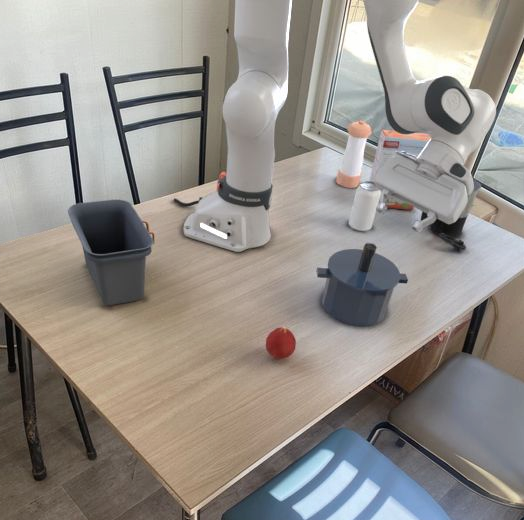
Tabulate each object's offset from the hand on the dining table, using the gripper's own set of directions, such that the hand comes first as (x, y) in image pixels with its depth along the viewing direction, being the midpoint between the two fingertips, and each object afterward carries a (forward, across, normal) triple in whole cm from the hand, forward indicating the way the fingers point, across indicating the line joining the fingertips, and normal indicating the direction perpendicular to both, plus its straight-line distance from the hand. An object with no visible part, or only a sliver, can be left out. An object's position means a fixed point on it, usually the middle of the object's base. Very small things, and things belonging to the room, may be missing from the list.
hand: (396, 220), depth 112 cm
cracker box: (-16, -26, +43) cm, 52 cm away
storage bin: (+45, -37, -18) cm, 61 cm away
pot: (+19, 0, +8) cm, 21 cm away
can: (-2, -22, +30) cm, 37 cm away
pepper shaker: (-16, -42, +43) cm, 62 cm away
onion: (+38, +2, -10) cm, 39 cm away
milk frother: (-15, -4, +42) cm, 45 cm away
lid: (+12, 0, +1) cm, 12 cm away
